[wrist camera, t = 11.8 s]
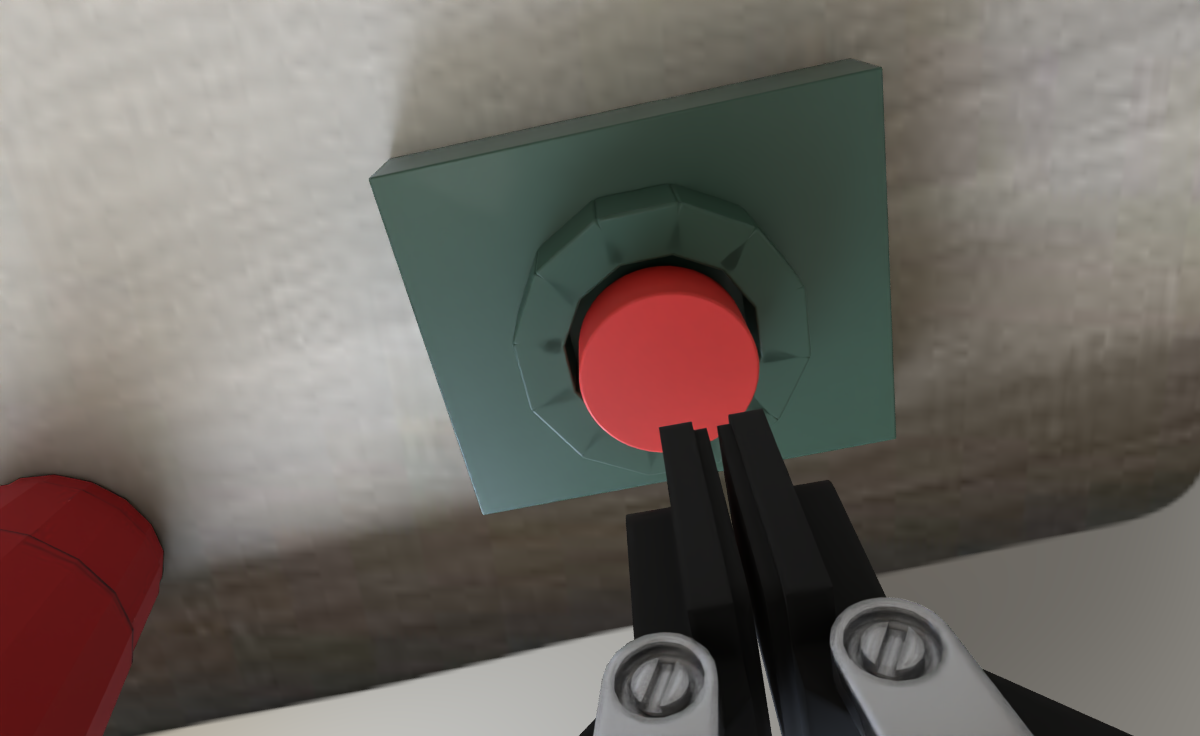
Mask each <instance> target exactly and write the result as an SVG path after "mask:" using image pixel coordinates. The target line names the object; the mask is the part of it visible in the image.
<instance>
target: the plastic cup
mask: <svg viewBox="0 0 1200 736" xmlns="http://www.w3.org/2000/svg"><path fill="white" fill-rule="evenodd" d="M163 552H164V551H163V549H162V547H161V545H160V542H159V540H158V538H157V536H156V534H155V531H154V529H153V527H152V525H151V524H150V523H149V522H148V521H147V520H146V519H145V518H144V517H143V516H142V515H141V514H140V513H139V512H138V511H137V510H136V509H135V508H134V507H133V506H132V505H131V504H130V503H129V502H128V501H127V500H125V499H123V498H121V497H119V496H118V495H116V494H114V493H112V492H110V491H108V490H106V489H104V488H102V487H100V486H98V485H96V484H94V483H93V482H88V481H83V480H78V479H74V478H69V477H64V476H59V475H46V476H36V477H27V478H19V479H18V480H16V481H14V482H12V483H10V484H9V485H1V486H0V736H103V733H104V731H105V728H106V726H107V723H108V721H109V718H110V716H111V714H112V711H113V709H114V706H115V704H116V701H117V699H118V696H119V694H120V691H121V689H122V687H123V684H124V682H125V679H126V677H127V674H128V672H129V669H130V667H131V664H132V662H133V651H134V648H135V646H136V644H137V641H138V639H139V637H140V635H141V632H142V630H143V628H144V625H145V623H146V621H147V618H148V616H149V614H150V612H151V609H152V607H153V605H154V602H155V600H156V598H157V595H158V593H159V582H160V580H161V578H162V570H163Z"/></svg>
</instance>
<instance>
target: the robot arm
mask: <svg viewBox="0 0 1200 736" xmlns="http://www.w3.org/2000/svg"><path fill="white" fill-rule="evenodd" d="M728 419H729V424H724V425H718V426H717V431H718V438H719V444H720V450H721V457H722V463H723V469H724V476H725V482H726V488H727V494H728V501H729V507H730V513H731V520H732V524H731V520H730V516H729V513H728V509H727V505H726V501H725V497H724V493H723V489H722V485H721V482H720V478H719V474H718V470H717V466H716V462H715V458H714V454H713V451H712V447H711V443H710V439H709V435H708V431H707V428H702V429H696V430H694V429H693V425H692V421H690V422H685V423H679V424H674V425H668V426H663V427H659V432H660V439H661V445H662V451H663V458H664V464H665V471H666V477H667V484H668V490H669V497H670V503H671V507H669V508H663V509H657V510H651V511H645V512H640V513H634V514H628V515H626V529H627V543H628V558H629V572H630V586H631V601H632V615H633V630H634V640H633V641H630V642H629V643H627V644H626V645H625V646H624V647H623V648H621V649H620V650H618V651H617V652H616V654H615V655H614V656H613V657H612V659H611V660H610V662H609V663H608V664H607V666H606V669H605V672H604V675H603V678H602V683H601V689H600V695H599V702H598V709H597V715H596V718H595V720H594V721H593V722H592V723H591V724H590V725H589V726H588V727H587V728H586V729H585V730H584V731H583V732H582V733H581V734H580V735H579V736H772V734H771V727H770V720H769V714H768V707H767V701H766V694H765V688H764V681H763V674H762V668H761V661H760V655H759V649H758V643H759V647H760V651H761V655H762V659H763V662H764V667H765V671H766V675H767V678H768V683H769V687H770V690H771V695H772V698H773V702H774V706H775V710H776V714H777V718H778V722H779V726H780V730H781V734H782V736H1132V735H1130V734H1128V733H1126V732H1124V731H1121V730H1119V729H1117V728H1115V727H1112V726H1110V725H1108V724H1105V723H1103V722H1101V721H1099V720H1096V719H1094V718H1092V717H1090V716H1087V715H1085V714H1083V713H1081V712H1079V711H1076V710H1074V709H1072V708H1069V707H1067V706H1065V705H1063V704H1060V703H1058V702H1056V701H1054V700H1051V699H1049V698H1047V697H1045V696H1042V695H1040V694H1038V693H1036V692H1033V691H1031V690H1029V689H1027V688H1024V687H1022V686H1020V685H1017V684H1015V683H1013V682H1011V681H1009V680H1006V679H1004V678H1002V677H999V676H997V675H995V674H993V673H991V672H988V671H986V670H984V669H982V668H981V667H980V666H979V664H978V663H977V662H976V660H975V659H974V658H973V656H972V655H971V654H970V653H969V651H968V650H967V649H966V647H965V646H964V645H963V644H962V642H961V641H960V640H959V638H958V637H957V636H956V635H955V633H954V632H953V631H952V630H951V628H950V627H949V625H947V624H946V623H945V622H944V621H943V620H942V619H941V618H940V617H939V616H938V615H937V614H936V613H934V612H933V611H931V610H929V609H927V608H925V607H924V606H922V605H920V604H918V603H914V602H911V601H907V600H904V599H901V598H887V597H886V596H885V594H884V591H883V589H882V587H881V585H880V583H879V581H878V579H877V577H876V575H875V572H874V570H873V568H872V566H871V564H870V562H869V560H868V558H867V556H866V553H865V551H864V549H863V547H862V545H861V543H860V541H859V539H858V537H857V534H856V532H855V530H854V528H853V526H852V524H851V522H850V520H849V517H848V515H847V513H846V511H845V509H844V507H843V505H842V503H841V501H840V498H839V496H838V494H837V492H836V490H835V488H834V486H833V484H832V483H831V482H830V481H829V480H825V481H819V482H813V483H807V484H802V485H796V486H793V484H792V481H791V479H790V476H789V474H788V471H787V469H786V466H785V464H784V461H783V459H782V456H781V454H780V451H779V449H778V446H777V443H776V441H775V438H774V436H773V433H772V431H771V428H770V426H769V423H768V421H767V418H766V416H765V413H764V411H763V409H756V410H751V411H745V412H740V413H734V414H729V415H728ZM732 526H733V528H732ZM757 639H758V642H757Z"/></svg>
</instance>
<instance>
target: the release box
mask: <svg viewBox="0 0 1200 736" xmlns="http://www.w3.org/2000/svg"><path fill="white" fill-rule="evenodd" d="M369 182H370V185H371V188H372V191H373V194H374V197H375V200H376V203H377V205H378V208H379V211H380V214H381V217H382V220H383V223H384V226H385V229H386V232H387V235H388V238H389V241H390V244H391V247H392V250H393V253H394V255H395V258H396V261H397V264H398V267H399V270H400V273H401V276H402V279H403V282H404V285H405V288H406V291H407V294H408V297H409V300H410V303H411V305H412V308H413V311H414V314H415V317H416V320H417V323H418V326H419V329H420V332H421V335H422V338H423V341H424V344H425V347H426V350H427V352H428V355H429V358H430V361H431V364H432V367H433V370H434V373H435V376H436V379H437V382H438V385H439V388H440V391H441V394H442V397H443V400H444V402H445V405H446V408H447V411H448V414H449V417H450V420H451V423H452V426H453V429H454V432H455V435H456V438H457V441H458V444H459V447H460V450H461V452H462V455H463V458H464V461H465V464H466V467H467V470H468V473H469V476H470V479H471V482H472V485H473V488H474V491H475V494H476V497H477V500H478V502H479V505H480V508H481V511H482V514H483V515H486V514H491V513H497V512H502V511H508V510H513V509H518V508H524V507H529V506H535V505H540V504H545V503H551V502H556V501H562V500H567V499H573V498H578V497H583V496H589V495H594V494H600V493H605V492H610V491H616V490H621V489H627V488H632V487H637V486H643V485H648V484H654V483H659V482H665V481H667V477H666V471H665V464H664V458H663V452H651V451H646V450H641V449H637V448H634V447H631V446H628V445H626V444H624V443H622V442H620V441H618V440H617V439H615V438H614V437H612V436H610V435H609V434H608V433H607V432H606V431H604V430H603V429H602V428H601V427H600V426H599V425H598V424H597V423H596V421H595V420H594V419H593V417H592V416H591V414H590V413H589V411H588V409H587V407H586V405H585V403H584V401H583V398H582V395H581V390H580V384H579V336H580V330H581V326H582V323H583V320H584V318H585V315H586V313H587V311H588V309H589V308H590V306H591V304H592V303H593V302H594V300H595V299H596V298H597V297H598V295H599V294H600V293H601V292H602V291H603V290H604V289H606V288H607V287H608V286H609V285H610V284H612V283H613V282H615V281H616V280H618V279H619V278H621V277H623V276H625V275H627V274H629V273H632V272H634V271H637V270H640V269H644V268H648V267H655V266H677V267H684V268H688V269H692V270H695V271H697V272H700V273H702V274H704V275H706V276H708V277H710V278H712V279H713V280H714V281H716V282H717V283H718V284H720V285H721V286H722V287H723V288H724V289H725V290H726V291H727V292H728V293H729V294H730V296H731V297H732V298H733V300H734V301H735V303H736V305H737V306H738V308H739V310H740V312H741V314H742V316H743V318H744V320H745V322H746V324H747V326H748V328H749V330H750V332H751V334H752V336H753V339H754V341H755V344H756V347H757V351H758V356H759V379H758V383H757V387H756V391H755V393H754V396H753V398H752V401H751V402H750V404H749V406H748V408H747V410H746V411H751V410H756V409H763V411H764V413H765V416H766V418H767V421H768V423H769V426H770V428H771V431H772V433H773V436H774V438H775V441H776V443H777V446H778V449H779V451H780V454H781V456H782V459H783V460H784V459H789V458H794V457H800V456H805V455H811V454H816V453H821V452H827V451H832V450H838V449H843V448H849V447H854V446H859V445H865V444H870V443H876V442H881V441H886V440H892V439H895V438H896V421H895V395H894V368H893V342H892V315H891V288H890V262H889V235H888V208H887V182H886V155H885V129H884V102H883V75H882V68H881V67H879V66H875V65H871V64H868V63H864V62H861V61H857V60H854V59H846V60H841V61H836V62H832V63H827V64H823V65H818V66H814V67H809V68H804V69H800V70H795V71H791V72H786V73H781V74H777V75H772V76H768V77H763V78H759V79H754V80H749V81H745V82H740V83H736V84H731V85H726V86H722V87H717V88H713V89H708V90H704V91H699V92H694V93H690V94H685V95H681V96H676V97H671V98H667V99H662V100H658V101H653V102H649V103H644V104H639V105H635V106H630V107H626V108H621V109H616V110H612V111H607V112H603V113H598V114H594V115H589V116H584V117H580V118H575V119H571V120H566V121H562V122H557V123H552V124H548V125H543V126H539V127H534V128H529V129H525V130H520V131H516V132H511V133H507V134H502V135H497V136H493V137H488V138H484V139H479V140H474V141H470V142H465V143H461V144H456V145H452V146H447V147H442V148H438V149H433V150H429V151H424V152H419V153H415V154H410V155H406V156H401V157H397V158H392V159H389V160H388V161H387V162H386V163H385V164H384V165H383V166H382V167H381V168H379V169H378V170H377V171H376V172H375V173H374V174H373V175H372V176H371V177H370V178H369ZM710 443H711V447H712V451H713V454H714V458H715V462H716V466H717V470H718V472H719V471H724V469H723V463H722V457H721V450H720V444H719V438H718V437H717V438H716V439H714V440H712V441H710Z"/></svg>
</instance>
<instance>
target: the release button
mask: <svg viewBox="0 0 1200 736" xmlns="http://www.w3.org/2000/svg"><path fill="white" fill-rule="evenodd" d="M758 379H759V356H758V351H757V347H756V344H755V341H754V339H753V336H752V334H751V332H750V330H749V328H748V326H747V324H746V322H745V320H744V318H743V316H742V314H741V312H740V310H739V308H738V306H737V305H736V303H735V301H734V300H733V298H732V297H731V296H730V294H729V293H728V292H727V291H726V290H725V289H724V288H723V287H722V286H721V285H720V284H718V283H717V282H716V281H714V280H713V279H712V278H710V277H708V276H706V275H704V274H702V273H700V272H697V271H695V270H692V269H688V268H684V267H677V266H655V267H648V268H644V269H640V270H637V271H634V272H632V273H629V274H627V275H625V276H623V277H621V278H619V279H618V280H616V281H615V282H613V283H612V284H610V285H609V286H608V287H607V288H606V289H604V290H603V291H602V292H601V293H600V294H599V295H598V297H597V298H596V299H595V300H594V302H593V303H592V304H591V306H590V308H589V309H588V311H587V313H586V315H585V318H584V320H583V323H582V326H581V330H580V336H579V384H580V390H581V395H582V398H583V401H584V403H585V405H586V407H587V409H588V411H589V413H590V414H591V416H592V417H593V419H594V420H595V421H596V423H597V424H598V425H599V426H600V427H601V428H602V429H603V430H604V431H606V432H607V433H608V434H609V435H610V436H612V437H614V438H615V439H617V440H618V441H620V442H622V443H624V444H626V445H628V446H631V447H634V448H637V449H641V450H646V451H651V452H663V451H662V445H661V439H660V432H659V427H663V426H668V425H674V424H679V423H685V422H690V421H692V425H693V429H694V430H696V429H702V428H707V431H708V435H709V439H710V441H712V440H714V439H716V438H717V437H718V431H717V426H718V425H724V424H729V419H728V415H729V414H734V413H740V412H745V411H746V410H747V408H748V406H749V404H750V402H751V401H752V398H753V396H754V393H755V391H756V387H757V383H758Z"/></svg>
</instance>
